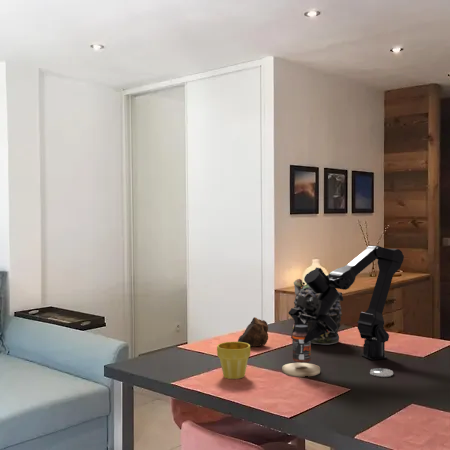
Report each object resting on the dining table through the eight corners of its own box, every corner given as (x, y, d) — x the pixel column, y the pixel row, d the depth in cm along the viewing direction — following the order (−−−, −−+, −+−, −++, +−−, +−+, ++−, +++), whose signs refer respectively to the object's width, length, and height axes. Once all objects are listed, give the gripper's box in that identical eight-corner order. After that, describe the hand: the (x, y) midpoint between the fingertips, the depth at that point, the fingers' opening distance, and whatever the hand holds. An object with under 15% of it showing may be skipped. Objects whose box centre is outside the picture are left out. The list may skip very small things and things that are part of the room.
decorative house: (284, 341, 228) (283, 278, 227) (301, 334, 240) (301, 274, 239) (333, 348, 216) (332, 281, 215) (349, 340, 228) (348, 277, 228)
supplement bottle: (306, 364, 181) (305, 328, 181) (289, 361, 184) (288, 326, 184) (314, 359, 186) (313, 324, 186) (297, 357, 189) (297, 323, 189)
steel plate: (384, 369, 186) (384, 367, 186) (397, 375, 180) (397, 373, 180) (365, 372, 184) (365, 369, 184) (378, 378, 177) (378, 375, 177)
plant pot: (226, 383, 173) (226, 350, 173) (211, 374, 182) (211, 343, 182) (256, 378, 178) (256, 346, 178) (240, 370, 187) (240, 340, 187)
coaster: (308, 364, 193) (308, 361, 193) (327, 374, 182) (327, 370, 182) (276, 368, 189) (276, 364, 189) (293, 378, 177) (293, 374, 177)
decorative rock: (266, 343, 225) (266, 315, 225) (271, 346, 219) (270, 318, 219) (236, 345, 222) (236, 317, 222) (240, 348, 216) (240, 320, 216)
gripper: (292, 283, 195) (266, 320, 189) (329, 290, 179) (302, 330, 173) (310, 304, 199) (285, 340, 193) (349, 312, 183) (322, 352, 178)
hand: (298, 340), depth 184 cm, fingers closed on supplement bottle, 6 cm apart
